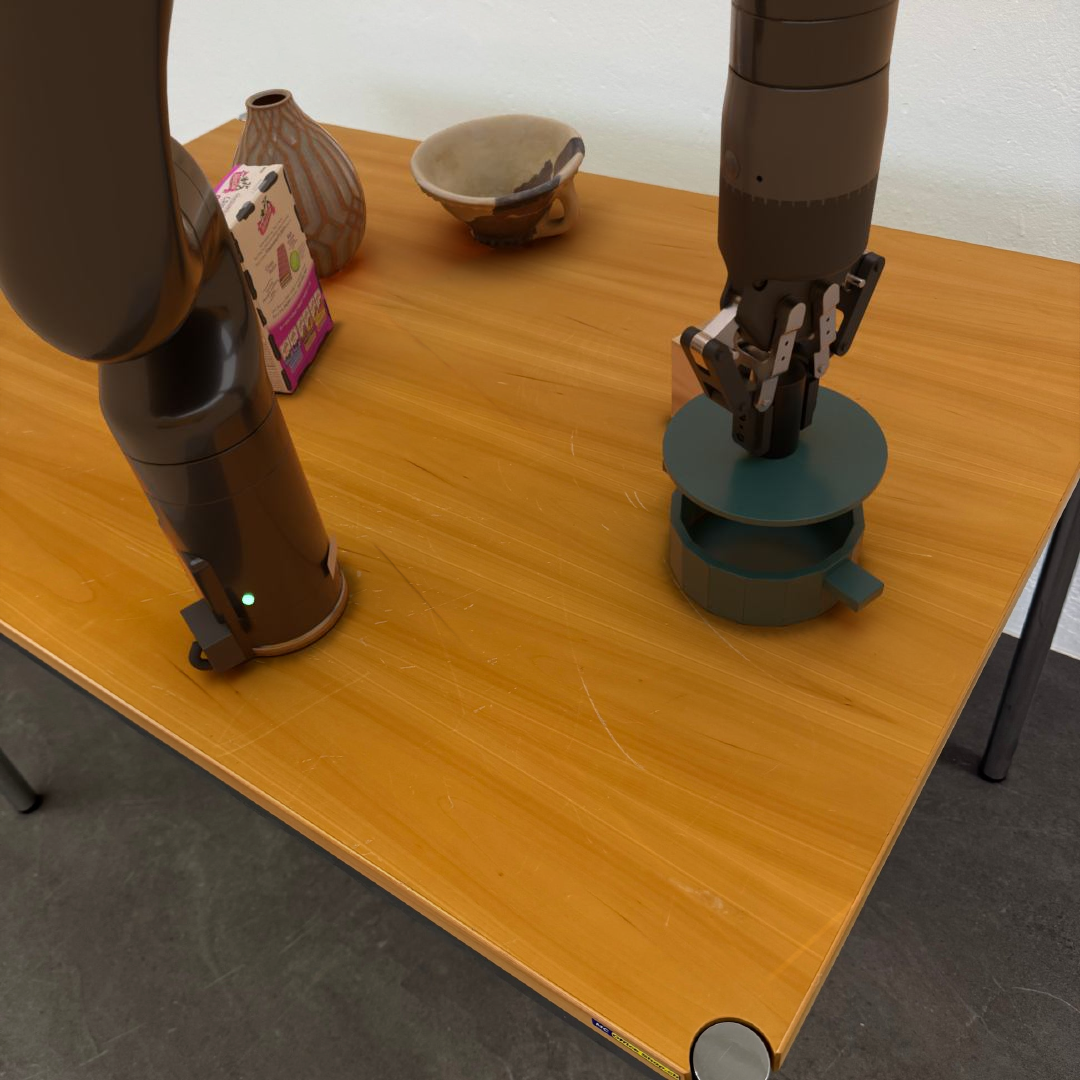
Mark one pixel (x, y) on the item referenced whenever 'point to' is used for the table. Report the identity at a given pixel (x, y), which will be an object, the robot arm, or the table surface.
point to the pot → (768, 565)
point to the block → (684, 374)
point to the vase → (308, 175)
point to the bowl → (503, 176)
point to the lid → (778, 458)
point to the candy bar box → (276, 269)
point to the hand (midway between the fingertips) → (773, 433)
